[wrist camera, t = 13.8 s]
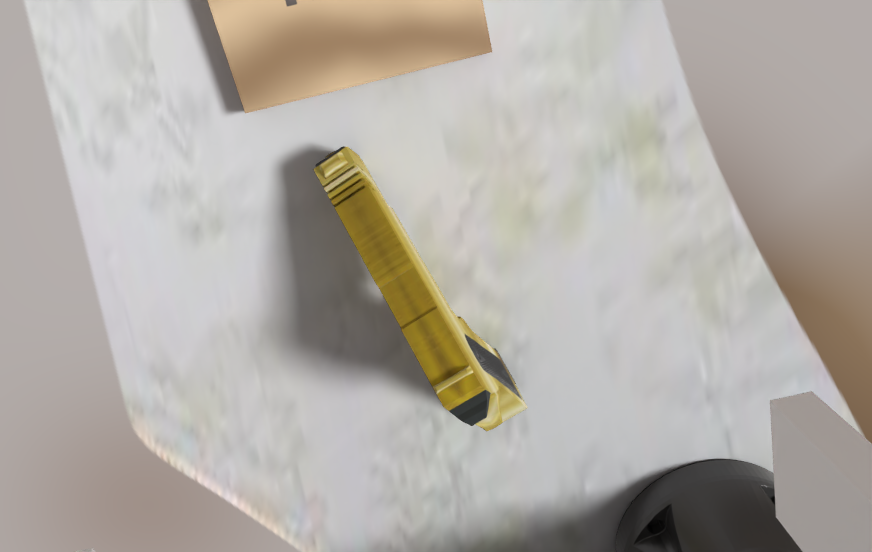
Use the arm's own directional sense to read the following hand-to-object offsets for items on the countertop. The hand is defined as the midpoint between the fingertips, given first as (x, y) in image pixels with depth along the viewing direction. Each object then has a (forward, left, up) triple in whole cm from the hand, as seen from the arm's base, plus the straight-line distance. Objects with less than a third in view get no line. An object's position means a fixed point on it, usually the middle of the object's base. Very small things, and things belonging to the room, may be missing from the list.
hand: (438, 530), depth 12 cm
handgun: (-7, +1, -31) cm, 32 cm away
